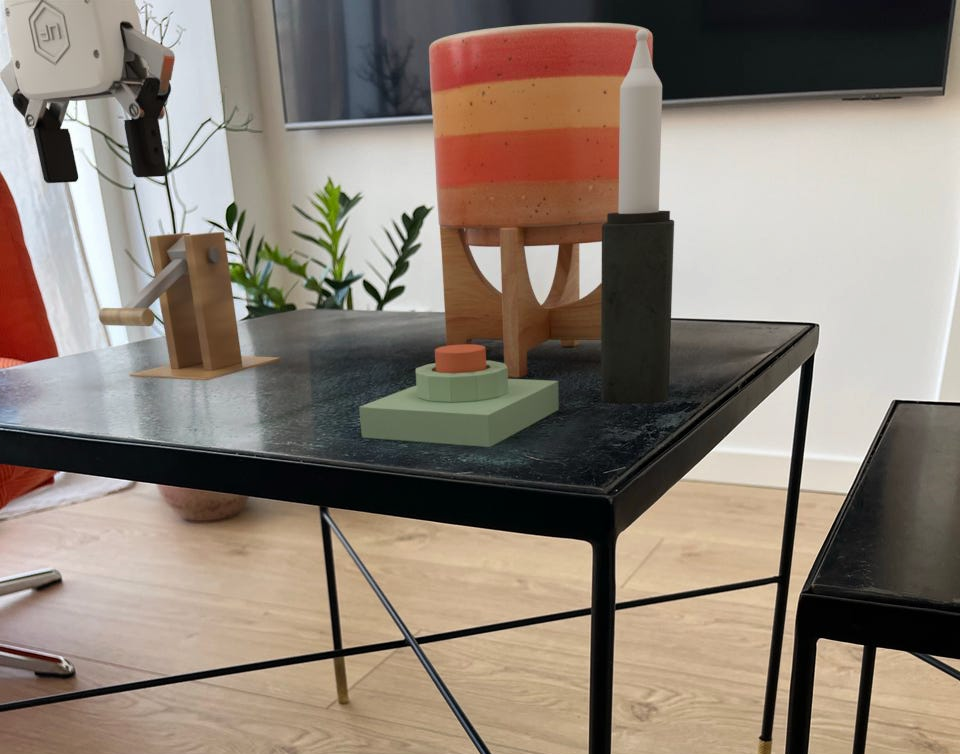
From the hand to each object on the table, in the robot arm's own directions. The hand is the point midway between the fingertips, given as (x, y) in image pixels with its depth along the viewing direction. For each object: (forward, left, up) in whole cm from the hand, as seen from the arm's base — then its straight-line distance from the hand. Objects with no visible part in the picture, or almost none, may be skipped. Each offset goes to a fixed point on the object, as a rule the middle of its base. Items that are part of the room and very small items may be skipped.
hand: (105, 179), depth 82 cm
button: (-2, -33, -14) cm, 36 cm away
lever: (+5, 0, -9) cm, 11 cm away
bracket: (+9, 0, -18) cm, 20 cm away
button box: (-2, -33, -18) cm, 37 cm away
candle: (+10, -42, -18) cm, 46 cm away
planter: (+25, -28, -18) cm, 41 cm away
